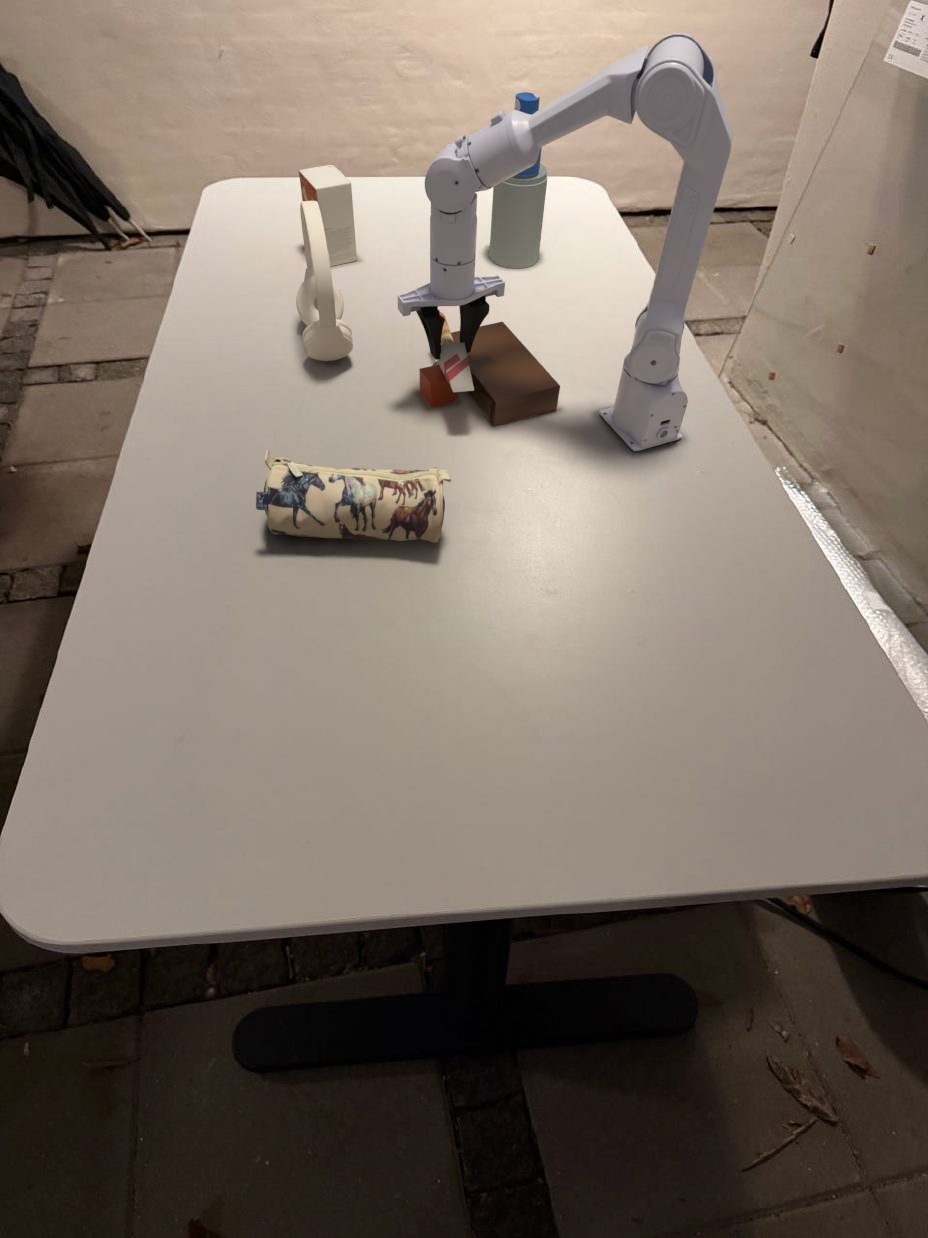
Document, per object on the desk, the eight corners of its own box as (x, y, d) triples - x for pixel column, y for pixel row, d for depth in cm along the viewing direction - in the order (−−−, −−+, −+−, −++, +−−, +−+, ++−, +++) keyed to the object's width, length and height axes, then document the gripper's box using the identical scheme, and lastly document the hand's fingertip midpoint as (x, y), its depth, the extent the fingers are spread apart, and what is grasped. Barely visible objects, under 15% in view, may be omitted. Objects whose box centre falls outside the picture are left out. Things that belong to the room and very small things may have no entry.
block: (457, 377, 108) (430, 383, 106) (456, 401, 111) (430, 408, 109) (445, 362, 110) (419, 368, 109) (444, 386, 113) (419, 393, 112)
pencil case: (262, 550, 91) (247, 486, 83) (276, 500, 96) (263, 437, 89) (448, 559, 91) (449, 496, 84) (451, 509, 96) (453, 446, 89)
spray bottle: (502, 272, 135) (515, 108, 116) (480, 249, 140) (489, 88, 121) (547, 263, 138) (566, 101, 118) (524, 241, 143) (539, 82, 123)
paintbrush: (449, 382, 100) (426, 309, 113) (449, 401, 102) (426, 326, 115) (478, 379, 100) (452, 307, 114) (477, 398, 103) (452, 324, 116)
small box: (307, 247, 138) (297, 169, 128) (340, 241, 140) (333, 163, 130) (324, 268, 134) (315, 188, 124) (358, 261, 136) (352, 181, 126)
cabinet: (556, 409, 110) (560, 385, 107) (488, 427, 107) (490, 403, 104) (500, 344, 120) (502, 321, 117) (437, 359, 117) (437, 335, 114)
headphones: (309, 380, 113) (290, 242, 97) (297, 315, 124) (278, 181, 108) (358, 375, 114) (347, 238, 98) (341, 311, 125) (329, 178, 110)
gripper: (490, 231, 101) (485, 327, 112) (387, 249, 97) (391, 347, 108) (515, 255, 97) (507, 352, 108) (408, 276, 93) (410, 374, 104)
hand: (450, 352), depth 108 cm, fingers closed on paintbrush, 4 cm apart
